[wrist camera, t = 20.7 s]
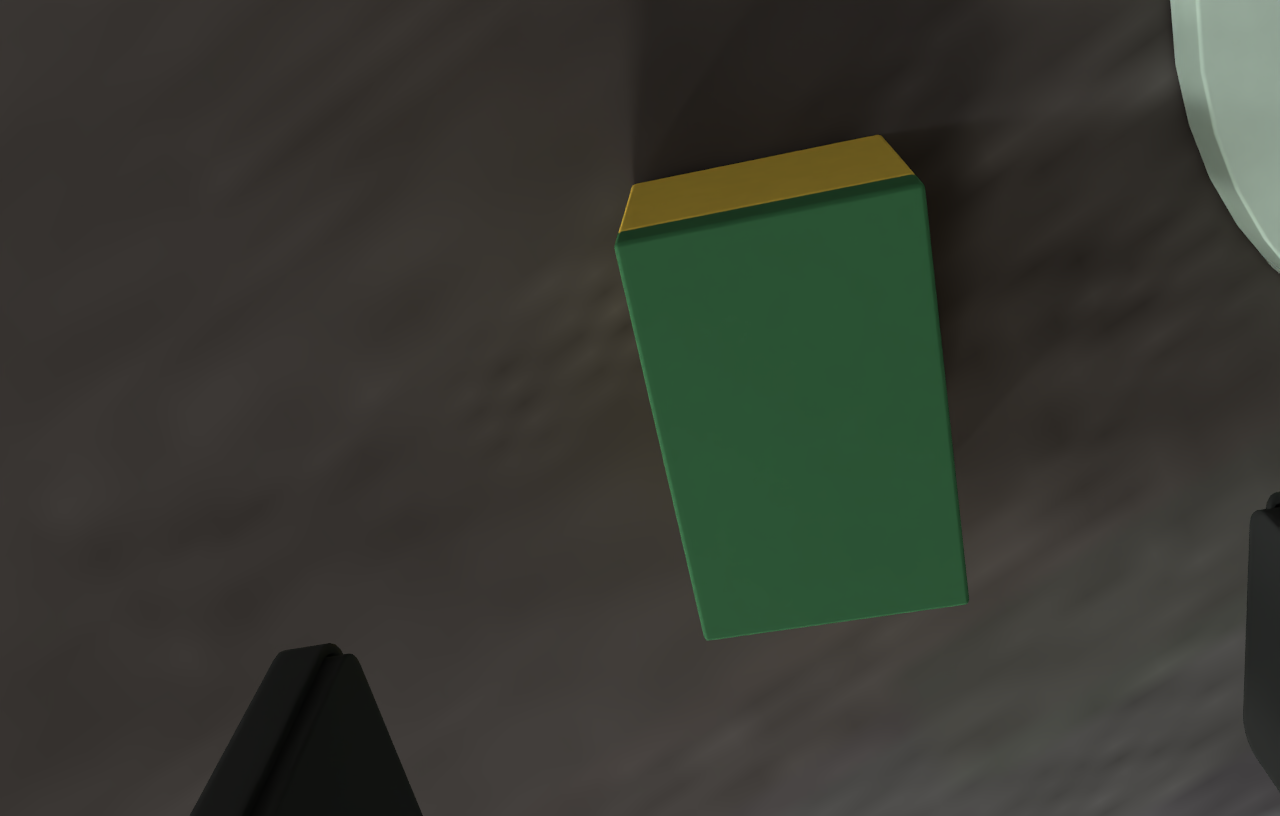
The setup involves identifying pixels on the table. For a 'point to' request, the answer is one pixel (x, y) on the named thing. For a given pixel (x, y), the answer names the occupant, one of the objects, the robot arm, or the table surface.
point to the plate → (1235, 106)
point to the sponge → (798, 386)
